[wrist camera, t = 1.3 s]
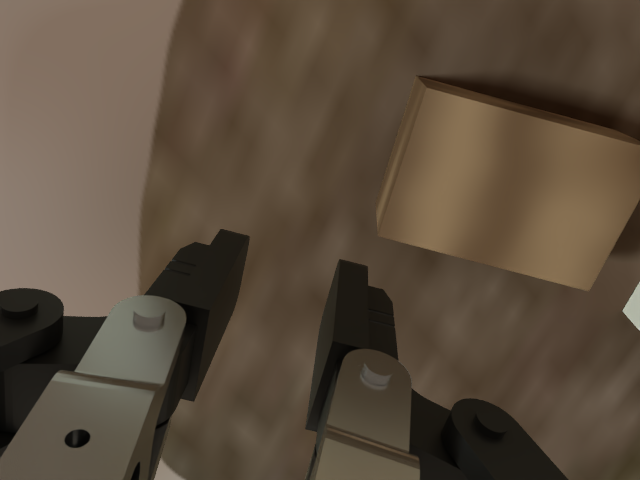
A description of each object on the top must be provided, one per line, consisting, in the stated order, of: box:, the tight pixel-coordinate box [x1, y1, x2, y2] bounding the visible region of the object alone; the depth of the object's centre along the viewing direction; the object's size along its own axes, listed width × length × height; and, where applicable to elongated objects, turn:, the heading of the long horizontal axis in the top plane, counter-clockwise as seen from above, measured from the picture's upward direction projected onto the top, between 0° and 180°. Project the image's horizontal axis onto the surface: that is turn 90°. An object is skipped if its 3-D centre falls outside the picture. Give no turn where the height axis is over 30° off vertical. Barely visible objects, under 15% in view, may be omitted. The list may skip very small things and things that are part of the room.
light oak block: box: [376, 76, 640, 291], centre depth 28 cm, size 12×8×6 cm, turn 76°
